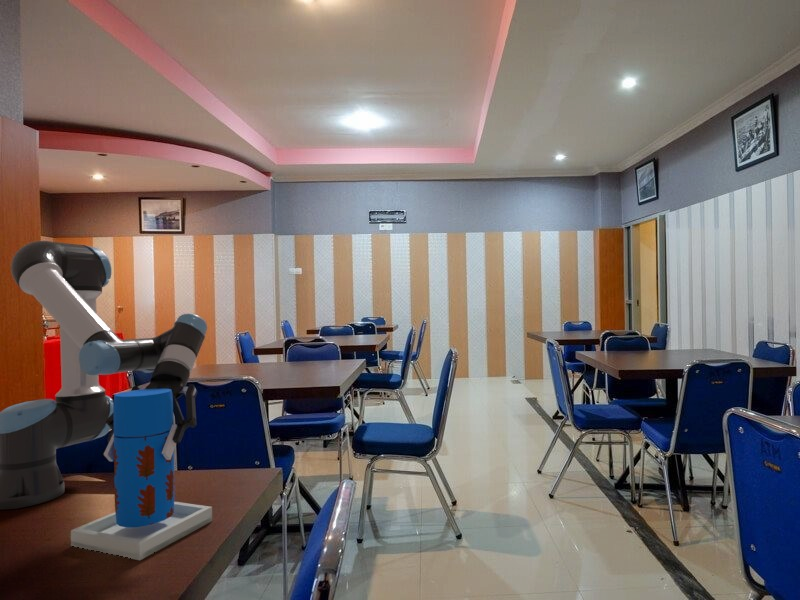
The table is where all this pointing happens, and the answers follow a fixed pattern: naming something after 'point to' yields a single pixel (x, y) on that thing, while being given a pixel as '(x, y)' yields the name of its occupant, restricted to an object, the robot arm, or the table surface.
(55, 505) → the table surface
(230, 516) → the table surface
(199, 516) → the tray
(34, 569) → the table surface
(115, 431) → the thermos
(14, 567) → the table surface
